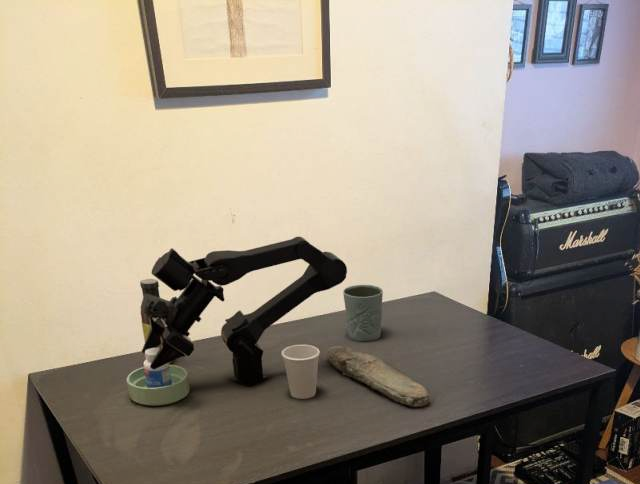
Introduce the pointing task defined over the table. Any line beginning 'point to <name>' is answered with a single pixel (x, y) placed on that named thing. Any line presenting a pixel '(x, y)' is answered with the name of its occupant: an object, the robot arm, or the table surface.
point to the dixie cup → (301, 370)
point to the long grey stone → (377, 375)
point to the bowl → (159, 394)
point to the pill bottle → (156, 371)
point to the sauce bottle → (152, 289)
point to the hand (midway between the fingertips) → (147, 360)
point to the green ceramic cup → (363, 312)
